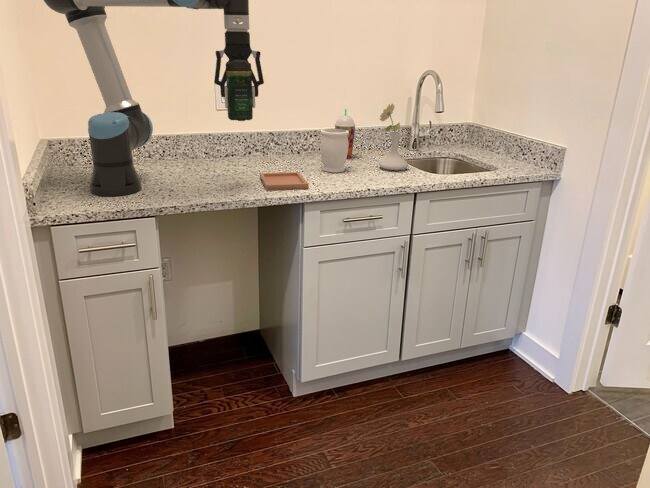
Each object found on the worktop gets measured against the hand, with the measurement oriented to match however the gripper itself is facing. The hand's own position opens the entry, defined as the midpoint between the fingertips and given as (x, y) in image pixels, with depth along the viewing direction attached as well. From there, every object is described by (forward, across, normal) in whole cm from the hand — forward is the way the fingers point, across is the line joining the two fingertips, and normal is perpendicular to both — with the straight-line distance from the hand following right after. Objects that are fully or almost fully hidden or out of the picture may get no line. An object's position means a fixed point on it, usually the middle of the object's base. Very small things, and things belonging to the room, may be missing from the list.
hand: (240, 107), depth 170 cm
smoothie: (+26, +45, +38) cm, 64 cm away
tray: (+26, +14, 0) cm, 29 cm away
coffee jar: (+4, 0, 0) cm, 4 cm away
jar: (+26, +36, +16) cm, 47 cm away
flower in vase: (+26, +59, +16) cm, 66 cm away
